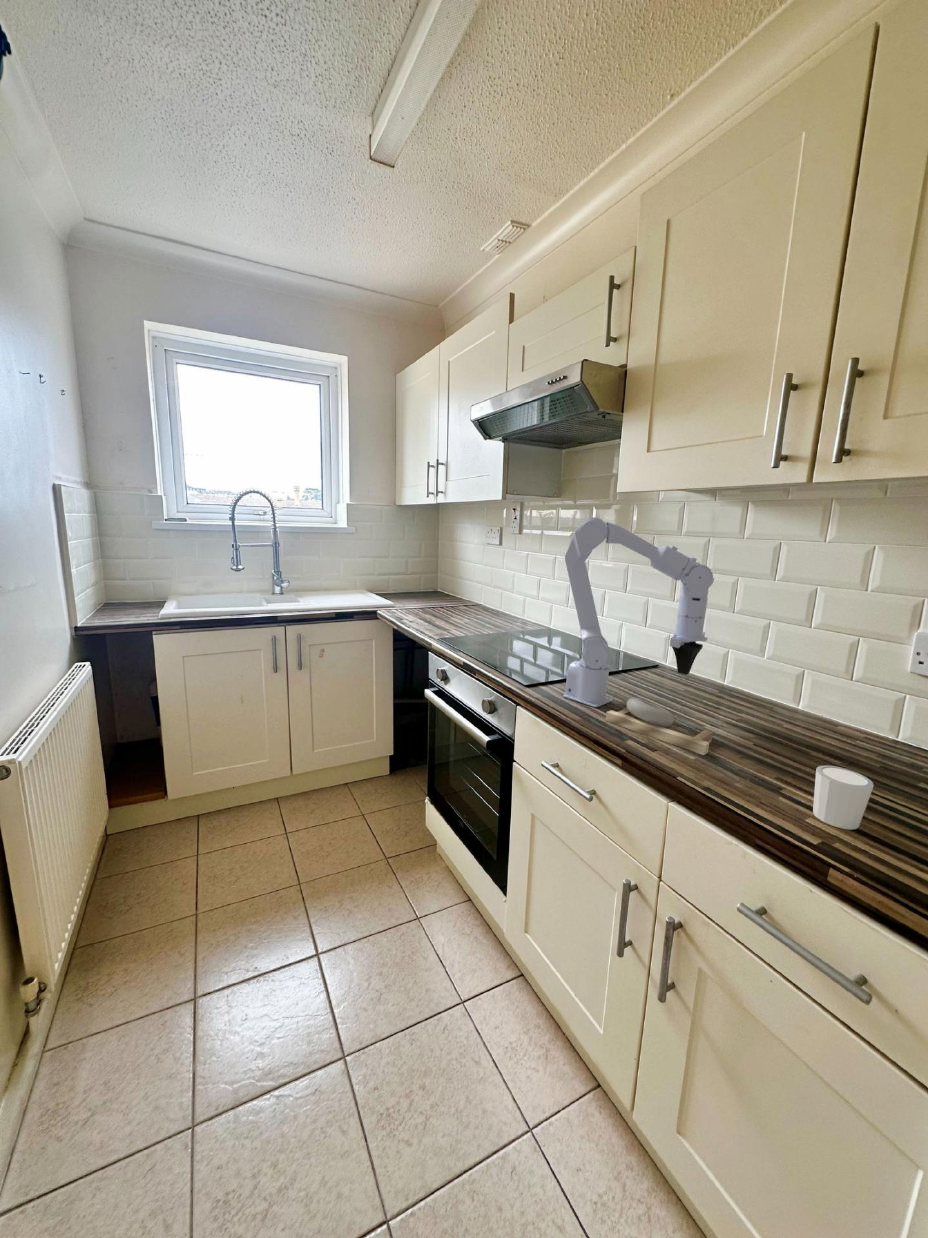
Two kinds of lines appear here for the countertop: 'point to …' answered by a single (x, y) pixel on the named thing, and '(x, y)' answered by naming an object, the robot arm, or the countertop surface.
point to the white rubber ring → (649, 712)
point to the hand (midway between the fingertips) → (683, 673)
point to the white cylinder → (840, 796)
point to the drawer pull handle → (661, 732)
